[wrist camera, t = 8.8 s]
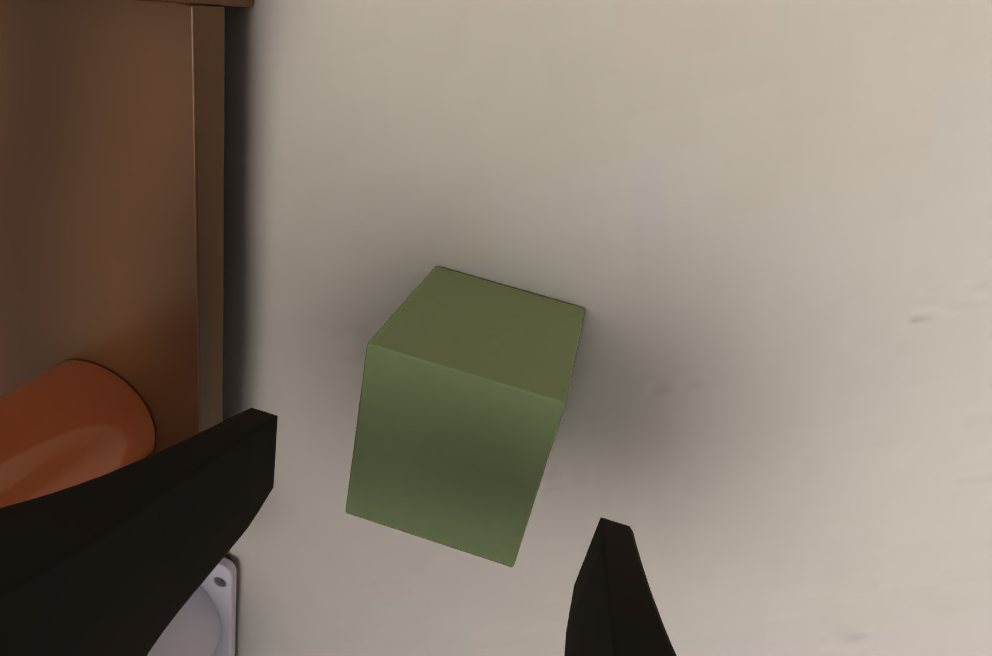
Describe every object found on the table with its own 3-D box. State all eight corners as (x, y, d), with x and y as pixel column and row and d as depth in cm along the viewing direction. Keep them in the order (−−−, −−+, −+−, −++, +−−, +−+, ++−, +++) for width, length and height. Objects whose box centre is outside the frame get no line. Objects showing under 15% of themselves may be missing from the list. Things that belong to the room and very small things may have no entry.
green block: (542, 447, 20) (513, 568, 15) (410, 406, 20) (344, 513, 16) (586, 307, 17) (565, 402, 13) (436, 264, 18) (366, 343, 13)
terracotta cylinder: (159, 481, 20) (-10, 639, 15) (51, 445, 21) (-152, 586, 16) (154, 380, 19) (-41, 519, 13) (35, 343, 19) (-201, 464, 14)
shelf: (255, -37, 15) (-9, -83, 9) (241, 502, 24) (99, 669, 17) (-99, -123, 16) (-555, -217, 10) (8, 425, 25) (-206, 557, 18)
